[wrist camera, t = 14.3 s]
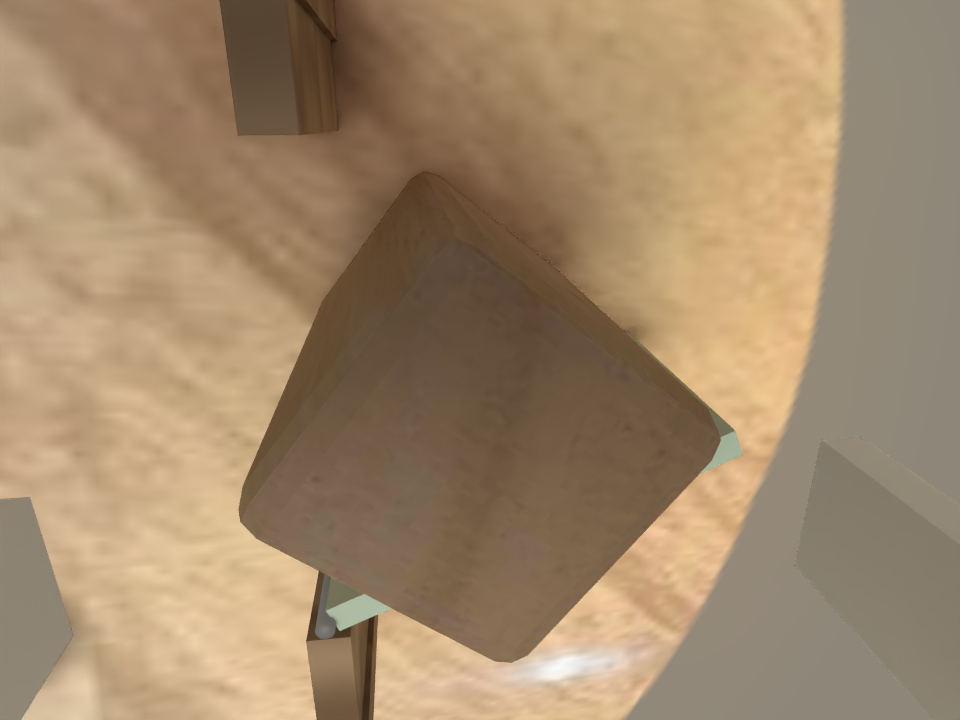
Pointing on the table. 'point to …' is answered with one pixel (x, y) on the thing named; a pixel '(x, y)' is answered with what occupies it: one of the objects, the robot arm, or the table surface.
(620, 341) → the wooden block
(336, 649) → the wall frame
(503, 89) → the table surface
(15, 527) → the robot arm
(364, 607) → the door
